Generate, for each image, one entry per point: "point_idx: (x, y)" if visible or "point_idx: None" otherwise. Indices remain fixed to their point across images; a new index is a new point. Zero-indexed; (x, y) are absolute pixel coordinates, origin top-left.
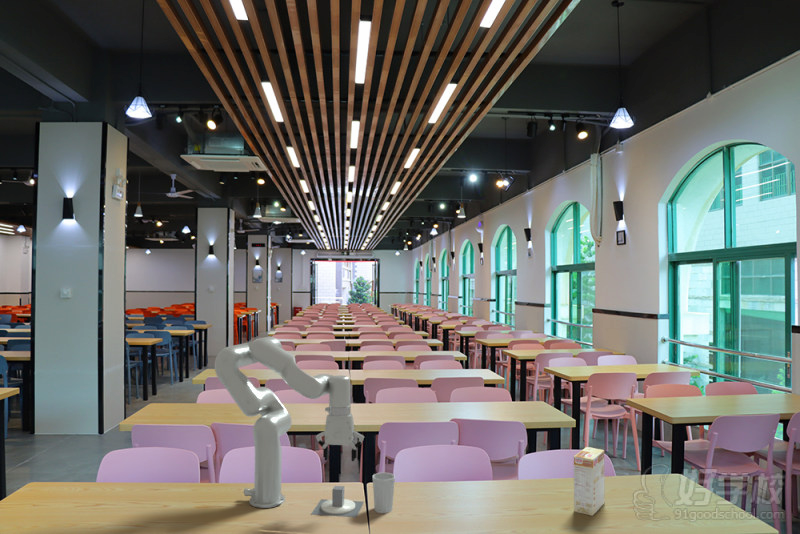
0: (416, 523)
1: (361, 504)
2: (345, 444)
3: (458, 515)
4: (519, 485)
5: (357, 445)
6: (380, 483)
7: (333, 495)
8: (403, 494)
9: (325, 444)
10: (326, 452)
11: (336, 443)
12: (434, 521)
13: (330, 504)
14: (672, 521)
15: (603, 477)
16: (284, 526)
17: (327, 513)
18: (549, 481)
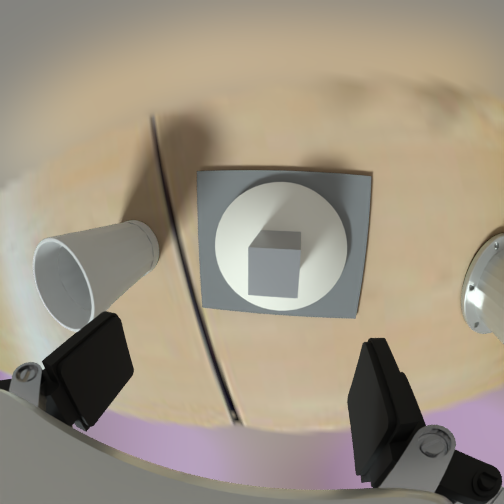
0: (60, 177)
1: (205, 283)
2: (33, 409)
3: (20, 239)
4: (16, 361)
5: (5, 387)
6: (65, 235)
7: (295, 241)
8: None
9: (421, 482)
10: (385, 395)
11: (167, 490)
12: (39, 199)
13: (312, 252)
14: None
15: None
16: (423, 90)
17: (310, 188)
18: (6, 365)
